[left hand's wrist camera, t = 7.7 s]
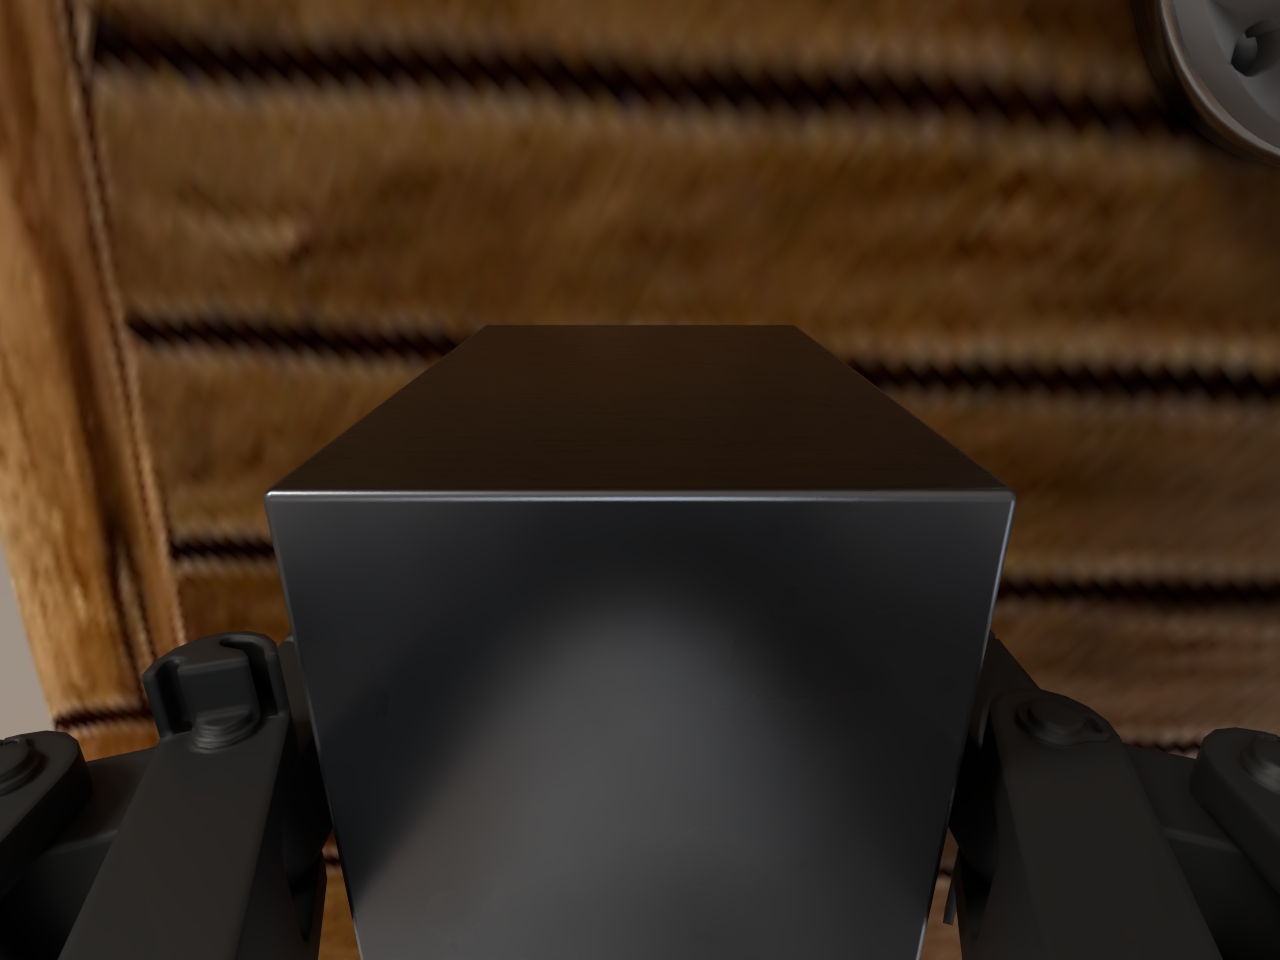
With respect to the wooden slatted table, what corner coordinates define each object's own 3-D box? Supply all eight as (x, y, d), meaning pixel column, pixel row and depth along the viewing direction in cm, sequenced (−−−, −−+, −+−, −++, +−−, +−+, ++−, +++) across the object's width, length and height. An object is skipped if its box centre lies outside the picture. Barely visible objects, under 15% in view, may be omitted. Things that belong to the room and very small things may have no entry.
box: (483, 324, 13) (257, 491, 5) (797, 324, 13) (1024, 491, 5) (542, 1058, 21) (484, 1555, 13) (738, 1058, 21) (795, 1555, 13)
